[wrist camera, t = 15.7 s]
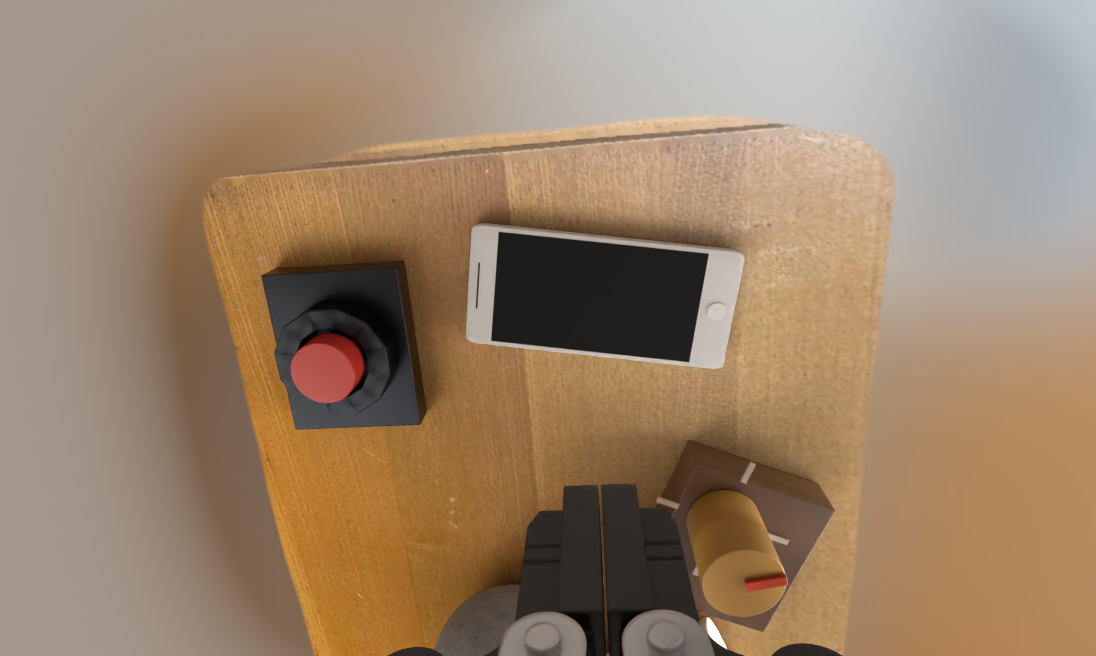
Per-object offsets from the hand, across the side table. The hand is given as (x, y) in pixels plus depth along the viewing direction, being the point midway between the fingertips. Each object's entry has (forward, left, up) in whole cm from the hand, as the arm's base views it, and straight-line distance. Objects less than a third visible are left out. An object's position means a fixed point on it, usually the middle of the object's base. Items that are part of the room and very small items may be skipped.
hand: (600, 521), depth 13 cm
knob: (+12, +13, -22) cm, 28 cm away
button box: (+10, -12, -25) cm, 30 cm away
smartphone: (+2, +1, -25) cm, 25 cm away
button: (+10, -12, -22) cm, 27 cm away
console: (+14, +14, -25) cm, 32 cm away
